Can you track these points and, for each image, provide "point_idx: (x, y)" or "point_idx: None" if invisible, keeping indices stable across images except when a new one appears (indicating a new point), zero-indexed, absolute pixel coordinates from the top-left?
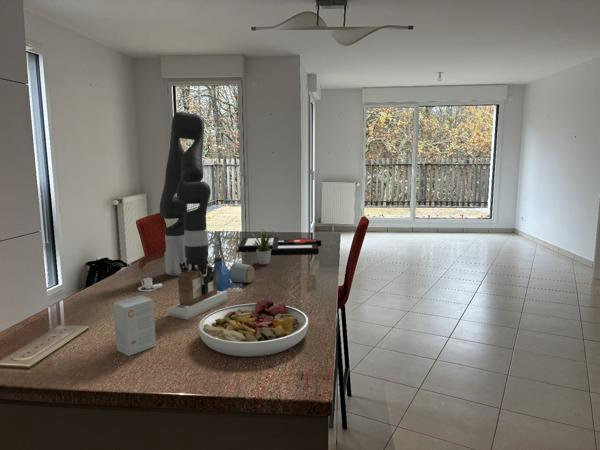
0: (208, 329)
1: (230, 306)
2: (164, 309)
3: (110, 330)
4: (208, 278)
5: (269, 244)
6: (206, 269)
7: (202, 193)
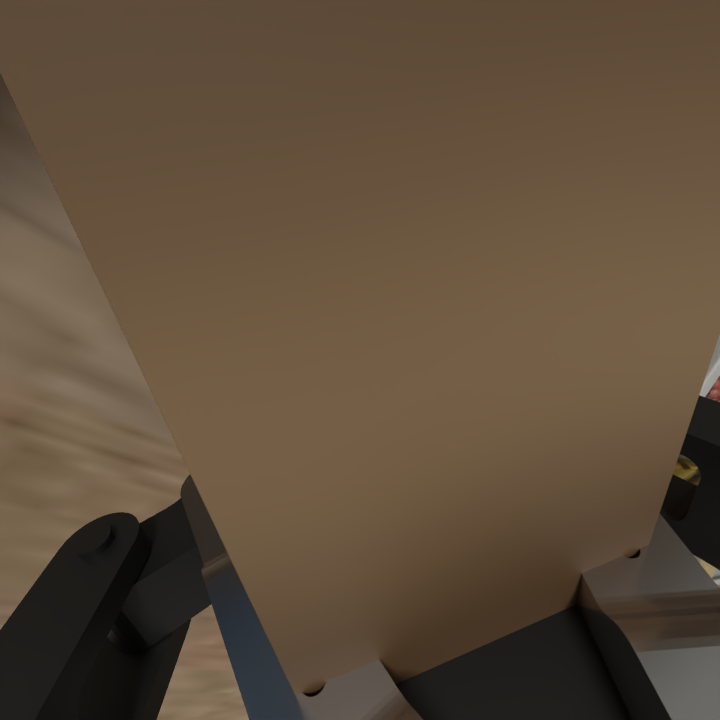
0: (713, 573)
1: (714, 373)
2: (119, 503)
3: (232, 716)
4: (666, 498)
5: None
6: (673, 536)
7: None
